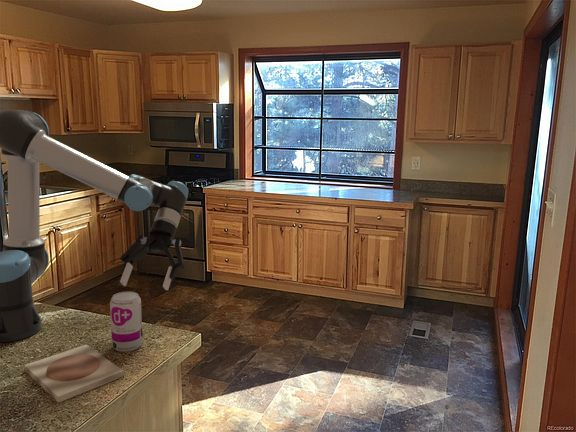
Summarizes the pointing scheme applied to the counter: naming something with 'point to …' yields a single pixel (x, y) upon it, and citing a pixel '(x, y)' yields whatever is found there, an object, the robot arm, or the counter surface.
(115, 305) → the supplement can
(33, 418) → the counter surface
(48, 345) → the counter surface
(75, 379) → the mount board
